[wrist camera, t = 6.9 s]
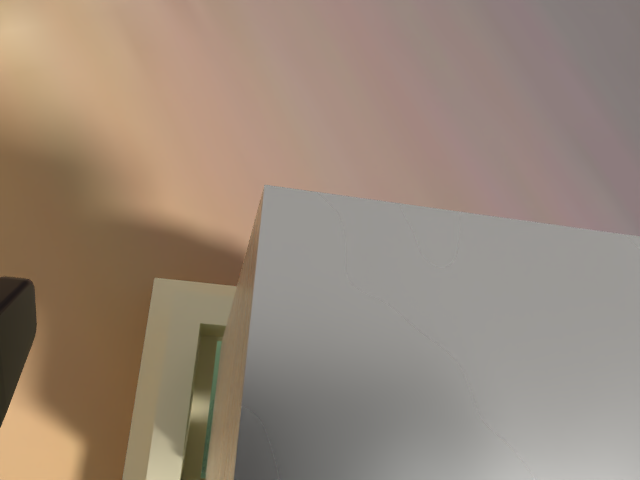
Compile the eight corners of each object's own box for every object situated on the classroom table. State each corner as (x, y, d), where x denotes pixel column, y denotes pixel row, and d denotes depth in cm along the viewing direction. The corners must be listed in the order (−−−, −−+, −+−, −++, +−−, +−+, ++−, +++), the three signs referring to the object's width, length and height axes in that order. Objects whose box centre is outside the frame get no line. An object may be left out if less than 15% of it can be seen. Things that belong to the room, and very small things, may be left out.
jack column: (325, 478, 14) (755, 765, 3) (201, 472, 14) (179, 794, 3) (332, 354, 15) (684, 230, 4) (216, 344, 15) (251, 167, 4)
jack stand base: (359, 536, 18) (406, 577, 14) (120, 528, 17) (91, 571, 13) (369, 308, 20) (412, 284, 16) (158, 286, 19) (144, 254, 15)
